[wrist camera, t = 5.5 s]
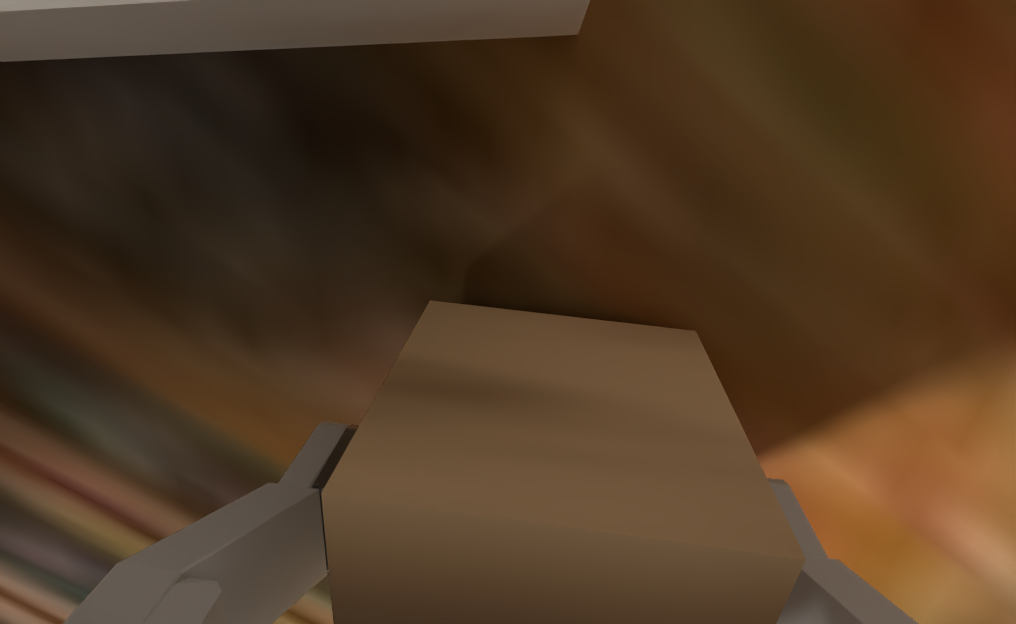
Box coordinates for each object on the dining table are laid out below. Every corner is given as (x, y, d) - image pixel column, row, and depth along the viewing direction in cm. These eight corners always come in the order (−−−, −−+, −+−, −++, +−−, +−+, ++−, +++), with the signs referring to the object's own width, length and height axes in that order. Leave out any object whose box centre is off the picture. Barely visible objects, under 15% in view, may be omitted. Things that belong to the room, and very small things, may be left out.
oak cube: (643, 526, 12) (690, 805, 7) (426, 496, 12) (345, 750, 8) (696, 331, 10) (805, 558, 5) (430, 300, 10) (320, 493, 6)
